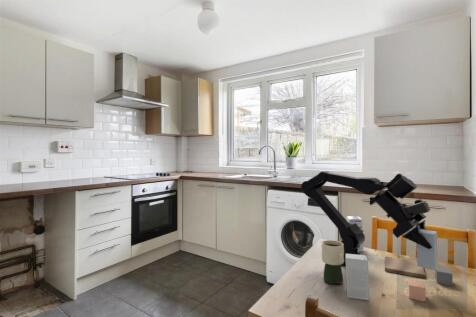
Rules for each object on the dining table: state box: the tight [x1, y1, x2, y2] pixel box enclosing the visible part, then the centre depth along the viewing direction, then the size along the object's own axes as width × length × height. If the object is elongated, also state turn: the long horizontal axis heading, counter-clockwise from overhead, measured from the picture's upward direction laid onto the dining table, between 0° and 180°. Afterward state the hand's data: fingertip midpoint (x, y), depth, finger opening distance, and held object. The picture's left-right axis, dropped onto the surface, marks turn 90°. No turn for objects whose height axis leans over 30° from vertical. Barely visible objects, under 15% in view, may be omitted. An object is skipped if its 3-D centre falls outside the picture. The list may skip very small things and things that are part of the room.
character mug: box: [321, 239, 344, 284], centre depth 87 cm, size 11×7×13 cm, turn 14°
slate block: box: [416, 229, 439, 271], centre depth 81 cm, size 4×4×11 cm
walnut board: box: [384, 256, 426, 279], centre depth 96 cm, size 12×12×1 cm
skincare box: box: [345, 254, 370, 301], centre depth 77 cm, size 6×4×12 cm
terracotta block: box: [407, 279, 427, 303], centre depth 76 cm, size 4×4×4 cm
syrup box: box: [346, 215, 364, 252], centre depth 116 cm, size 6×6×14 cm
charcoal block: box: [434, 266, 454, 287], centre depth 85 cm, size 4×4×4 cm
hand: (432, 246), depth 80 cm, fingers closed on slate block, 4 cm apart
